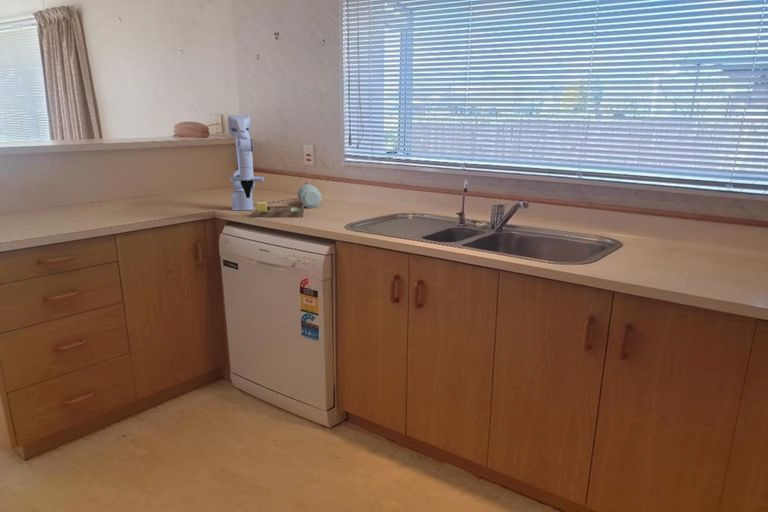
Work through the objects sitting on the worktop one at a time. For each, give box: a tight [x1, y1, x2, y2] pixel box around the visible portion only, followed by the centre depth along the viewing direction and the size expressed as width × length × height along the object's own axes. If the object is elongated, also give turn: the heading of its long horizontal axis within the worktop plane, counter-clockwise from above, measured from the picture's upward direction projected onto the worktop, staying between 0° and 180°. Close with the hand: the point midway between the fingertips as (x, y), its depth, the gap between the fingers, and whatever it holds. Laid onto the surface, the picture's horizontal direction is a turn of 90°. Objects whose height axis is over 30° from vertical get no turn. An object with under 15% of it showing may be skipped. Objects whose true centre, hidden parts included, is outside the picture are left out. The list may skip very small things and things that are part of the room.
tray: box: [253, 203, 305, 218], centre depth 247 cm, size 22×13×4 cm, turn 96°
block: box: [256, 201, 268, 212], centre depth 243 cm, size 4×4×4 cm
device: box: [297, 182, 322, 209], centre depth 275 cm, size 31×10×10 cm, turn 16°
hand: (248, 197), depth 241 cm, fingers closed
